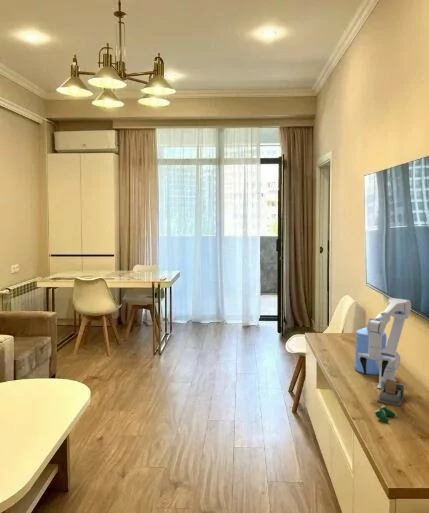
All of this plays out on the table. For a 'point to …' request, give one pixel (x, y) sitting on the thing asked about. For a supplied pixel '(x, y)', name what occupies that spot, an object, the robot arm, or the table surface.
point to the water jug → (366, 351)
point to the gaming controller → (384, 414)
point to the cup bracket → (391, 395)
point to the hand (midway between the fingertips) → (373, 374)
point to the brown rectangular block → (390, 386)
